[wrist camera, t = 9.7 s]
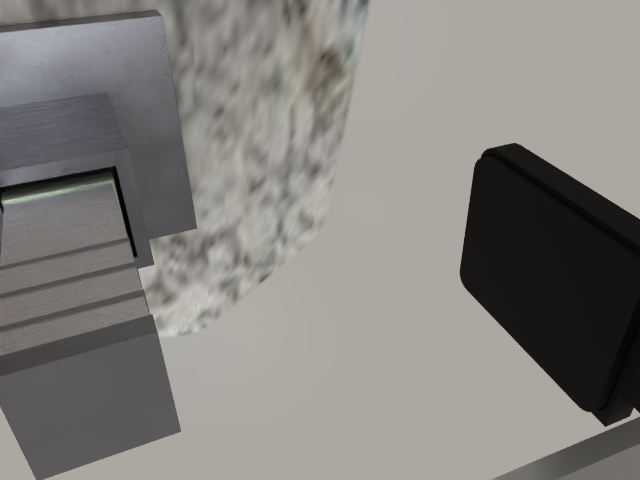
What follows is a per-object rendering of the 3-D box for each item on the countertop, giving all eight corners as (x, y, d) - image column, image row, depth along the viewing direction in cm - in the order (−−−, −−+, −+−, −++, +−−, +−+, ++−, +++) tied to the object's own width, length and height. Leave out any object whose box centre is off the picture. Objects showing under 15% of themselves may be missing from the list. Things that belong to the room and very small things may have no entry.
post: (104, 147, 32) (157, 331, 19) (123, 224, 35) (181, 431, 22) (4, 164, 31) (-13, 380, 17) (32, 244, 33) (37, 481, 20)
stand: (156, 10, 38) (198, 53, 28) (191, 216, 46) (232, 301, 37) (-126, 39, 32) (-187, 103, 23) (-27, 265, 41) (-42, 378, 32)
